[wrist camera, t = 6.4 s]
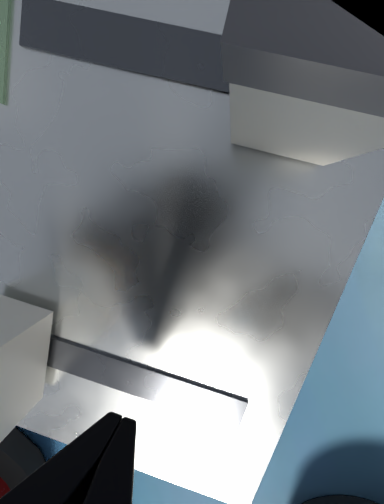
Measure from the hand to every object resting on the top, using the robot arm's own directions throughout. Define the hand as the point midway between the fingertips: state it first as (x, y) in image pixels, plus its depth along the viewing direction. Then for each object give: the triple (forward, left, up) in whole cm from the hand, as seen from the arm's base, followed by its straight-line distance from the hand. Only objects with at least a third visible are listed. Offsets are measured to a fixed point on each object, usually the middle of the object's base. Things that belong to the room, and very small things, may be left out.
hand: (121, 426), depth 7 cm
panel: (+2, -5, -4) cm, 7 cm away
